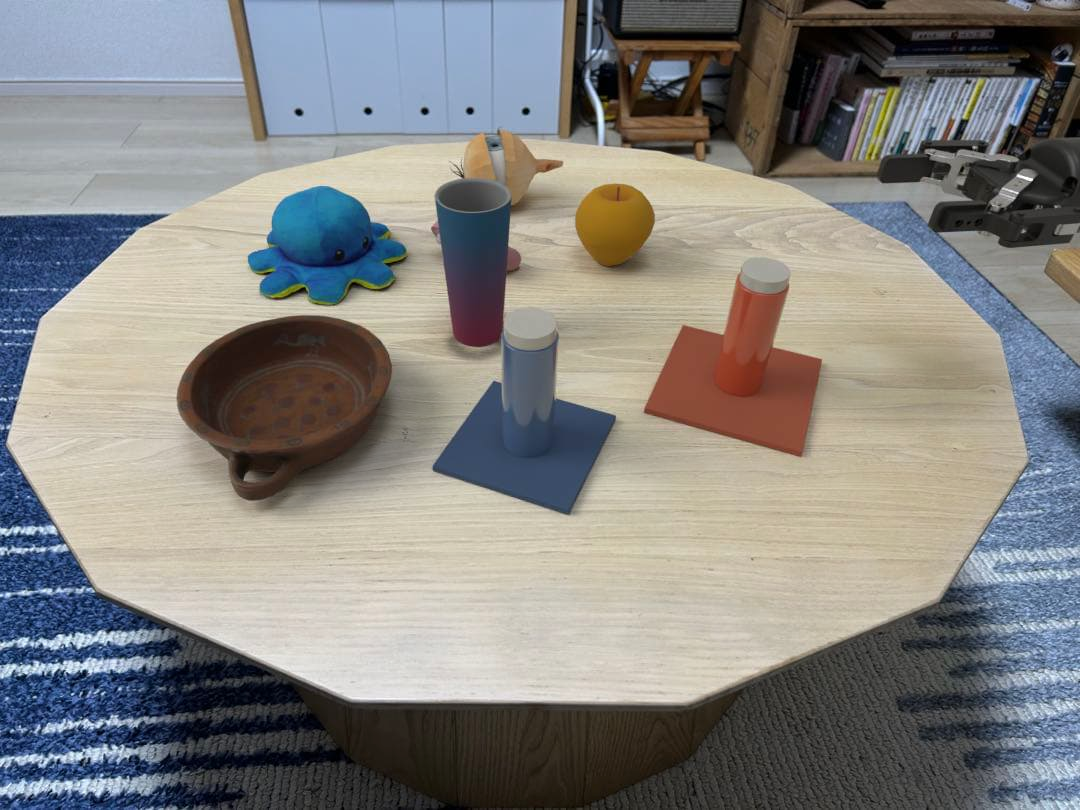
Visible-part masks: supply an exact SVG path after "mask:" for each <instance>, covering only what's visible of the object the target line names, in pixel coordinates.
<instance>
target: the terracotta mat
mask: <svg viewBox="0 0 1080 810" xmlns="http://www.w3.org/2000/svg"><path fill="white" fill-rule="evenodd" d="M723 335H724V334H721V333H717V332H714V331H709V330H705V329H702V328H697V327H693V326H689V325H684V324H683V325H682V326H681V328H680V330H679V332H678V334H677V337H676V338H675V341H674V343H673V346H672V348H671V349H670V352H669V354H668V356H667V359H666V361H665V363H664V365H663V366H662V369H661V371H660V374H659V375H658V378H657V380H656V382H655V384H654V386H653V387H652V391H651V393H650V395H649V398H648V399H647V402H646V404H645V405H644V408H643V409H644V410H643V412H644V413H645V414H648V415H651V416H652V415H653V416H656V417H659V418H663V419H665V420H670V421H673V422H677V423H680V424H684V425H687V426H691V427H695V428H698V429H701V430H706V431H709V432H713V433H716V434H719V435H723V436H725V437H726V436H727V437H730V438H734V439H737V440H741V441H745V442H748V443H751V444H754V445H758V446H762V447H766V448H769V449H773V450H777V451H781V452H784V453H787V454H791V455H795V456H798V457H802V455H803V452H804V448H805V443H806V438H807V433H808V428H809V424H810V420H811V414H812V409H813V405H814V400H815V397H816V396H815V394H816V391H817V386H818V381H819V376H820V372H821V367H822V364H823V363H822V362H823V359H822V358H818V357H815V356H811V355H807V354H802V353H799V352H795V351H790V350H786V349H782V348H778V347H775V346H773V347H772V351H771V354H770V358H769V361H768V365H767V368H766V372H765V375H764V379H763V382H762V386H761V388H760V390H759V391H758V392H757V393H755V394H753V395H750V396H735V395H731V394H728V393H726V392H724V391H723V390H721V389H720V388H719V387H718V386H717V385H716V383H715V381H714V375H715V370H716V366H717V362H718V357H719V353H720V349H721V344H722V340H723Z"/></svg>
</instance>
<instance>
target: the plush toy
mask: <svg viewBox="0 0 1080 810" xmlns="http://www.w3.org/2000/svg"><path fill="white" fill-rule="evenodd" d="M390 236H391V230H390V229H389V227H388V226H387V225H386V224H383V223H381V222H375V221H371V217H370V214H369V212H368V210H367V208H366V207H365V206H364V204H363V203H362V202H361V201H360V200H358V199H357V198H355V197H354V196H352V195H349V194H347V193H345V192H343V191H341V190H339V189H337V188H335V187H331V186H328V185H318V186H313V187H309V188H306V189H304V190H300V191H297V192H295V193H292V194H290V195H287V196H285V197H284V198H283V199H281V200H280V202H279V203H278V204H277V205H276V206H275V209H274V211H273V214H272V216H271V230H270V232H269V233H268V234H267V236H266V243H267V246H268V247H267V248H264V249H259V250H255V251H252V252H251V253H249V254H248V255H247V263H248V266H249V267H250V270H251V271H252V272H253V273H255V274H258V275H259V274H262V275H263V274H265V273H268V272H269V274H268V275H266V276H264V278H263V279H262V280H261V281H260V283H259V288H258V291H259V292H260V293H261V294H263V296H265V297H267V298H268V297H269V298H271V299H275V298H284V297H287V296H288V295H289V296H290V295H291V294H292V293H294V292H297V291H299V290H300V289H302V288H305V289H306V292H307V298H308V300H309V302H312V303H316V304H318V305H327V306H329V305H331V306H333V305H337V304H339V303H341V302H342V301H343V299H344V298H345V297H346V296H347V293H348V290H349V287H350V286H351V284H352V283H357V284H359V285H361V286H363V287H364V288H366V289H371V290H381V289H384V288H386V287H389V286H390V285H391V284H393V281H394V280H396V277H395V273H394V271H393V269H392V268H390V266H388V265H387V264H389V263H393V262H398V261H401V260H403V259H404V258H406V257H407V254H408V250H407V248H406V246H405V245H404V244H403V243H401V242H399V241H397V240H392V239H390V238H389V237H390Z"/></svg>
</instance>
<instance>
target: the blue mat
mask: <svg viewBox="0 0 1080 810" xmlns="http://www.w3.org/2000/svg"><path fill="white" fill-rule="evenodd" d="M616 420H617V415H616V414H612V413H609V412H605V411H602V410H598V409H595V408H591V407H588V406H584V405H581V404H578V403H574V402H571V401H566V400H563V399H560V398H556V405H555V424H554V442H553V445H552V447H551V448H550V449H549V451H547V452H546V453H544V454H543V455H540V456H537V457H530V458H527V457H520V456H516V455H514V454H512V453H510V452H509V451H508V450H507V449H506V448H505V447H504V445H503V442H502V382H500V381H496V380H493V381H492V382H491V383H490V385H489V386H488V388H487V389H486V391H485V392H484V393H483V394H482V396H481V398H480V399H479V400H478V402H477V403H476V405H475V406H474V407H473V409H472V410H471V411H470V413H469V414H468V416H467V417H466V419H465V420H464V421H463V423H462V424H461V425H460V426H459V428H458V430H457V431H456V432H455V434H454V435H453V436H452V438H451V439H450V441H449V442H448V443H447V445H446V446H445V448H444V449H443V450H442V452H441V453H440V454H439V455H438V457H437V459H436V460H435V461H434V463H433V464H432V471H434V472H436V473H440V474H442V475H446V476H449V477H452V478H455V479H458V480H461V481H464V482H467V483H470V484H472V485H476V486H478V487H482V488H486V489H489V490H491V491H494V492H497V493H501V494H503V495H506V496H510V497H513V498H516V499H519V500H522V501H525V502H528V503H530V504H531V503H532V504H534V505H537V506H540V507H544V508H547V509H550V510H553V511H556V512H559V513H561V514H565V515H570V513H571V511H572V509H573V507H574V505H575V503H576V501H577V499H578V497H579V495H580V494H581V491H582V490H583V487H584V485H585V483H586V481H587V479H588V477H589V475H590V473H591V471H592V469H593V467H594V465H595V463H596V461H597V459H598V457H599V455H600V453H601V451H602V449H603V446H604V444H605V442H606V440H607V439H608V436H609V434H610V433H611V431H612V429H613V427H614V425H615V423H616Z"/></svg>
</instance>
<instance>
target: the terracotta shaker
mask: <svg viewBox="0 0 1080 810" xmlns="http://www.w3.org/2000/svg"><path fill="white" fill-rule="evenodd" d="M791 274H792V273H791V270H790V267H788V265H787V264H785V263H784V262H782V261H781V260H778V259H775V258H771V257H768V256H767V257H765V256H754V257H750V258H748V259H745V260H744V261H743V263H742V264H741V268H740V272H739V273H738V274H737V276H736V279H735V283H734V288H733V292H732V297H731V301H730V304H729V310H728V313H727V317H726V321H725V322H726V323H725V327H724V332H723V334H722V335H723V340H722V344H721V349H720V353H719V357H718V362H717V366H716V370H715V375H714V381H715V383H716V385H717V386H718V387H719V388H720V389H721V390H723V391H724V392H726V393H728V394H731V395H735V396H750V395H753V394H755V393H757V392H758V391H759V390H760V388H761V386H762V382H763V379H764V375H765V372H766V368H767V365H768V361H769V358H770V354H771V351H772V347H774V343H775V339H776V337H777V333H778V329H779V325H780V322H781V319H782V315H783V312H784V308H785V305H786V302H787V301H786V300H787V297H788V295H789V294H788V293H789V291H790V282H789V281H790V277H791Z"/></svg>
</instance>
